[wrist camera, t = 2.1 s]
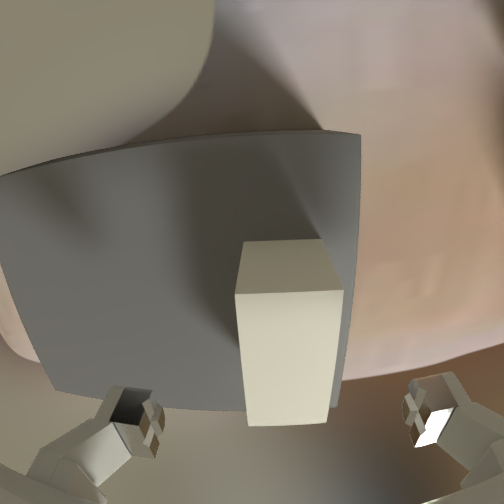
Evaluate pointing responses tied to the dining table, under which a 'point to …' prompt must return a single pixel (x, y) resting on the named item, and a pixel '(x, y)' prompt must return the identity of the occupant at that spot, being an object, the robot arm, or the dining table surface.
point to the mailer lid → (192, 270)
